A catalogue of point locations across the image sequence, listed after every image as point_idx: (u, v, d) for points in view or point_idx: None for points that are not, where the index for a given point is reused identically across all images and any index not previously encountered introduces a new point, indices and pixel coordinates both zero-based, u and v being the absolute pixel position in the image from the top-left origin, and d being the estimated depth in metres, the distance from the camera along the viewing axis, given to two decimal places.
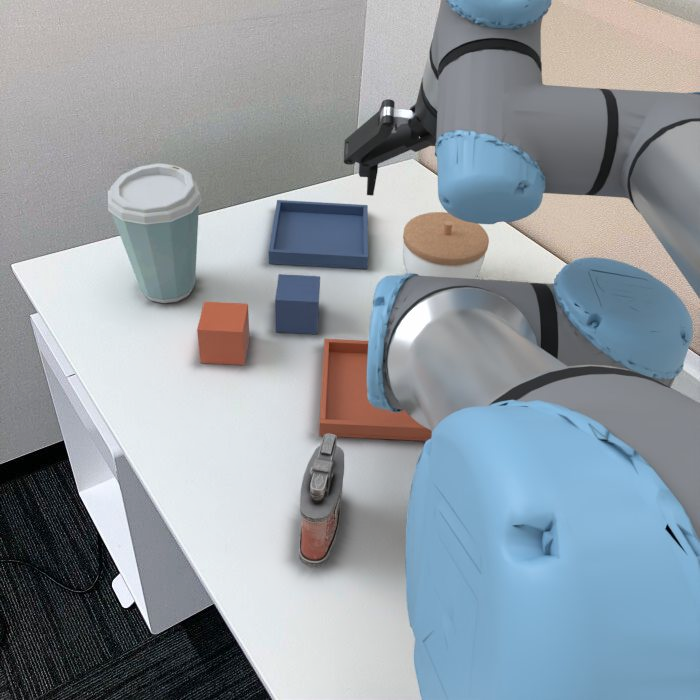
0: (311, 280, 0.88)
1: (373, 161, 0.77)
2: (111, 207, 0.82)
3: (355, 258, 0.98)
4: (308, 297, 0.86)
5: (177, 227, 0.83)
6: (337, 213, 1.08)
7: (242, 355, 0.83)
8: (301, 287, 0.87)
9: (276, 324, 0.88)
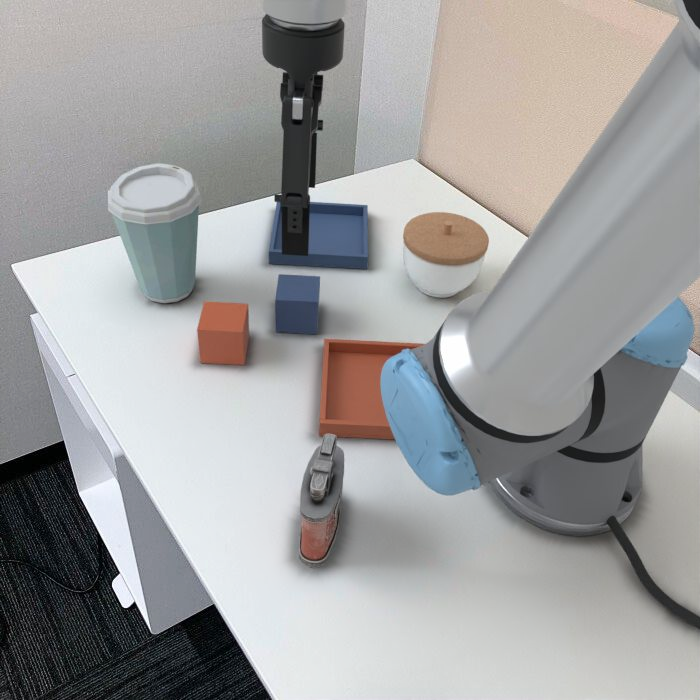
0: (311, 280, 0.88)
1: (308, 182, 0.70)
2: (111, 207, 0.82)
3: (355, 258, 0.98)
4: (308, 297, 0.86)
5: (177, 227, 0.83)
6: (337, 213, 1.08)
7: (242, 355, 0.83)
8: (301, 287, 0.87)
9: (276, 324, 0.88)
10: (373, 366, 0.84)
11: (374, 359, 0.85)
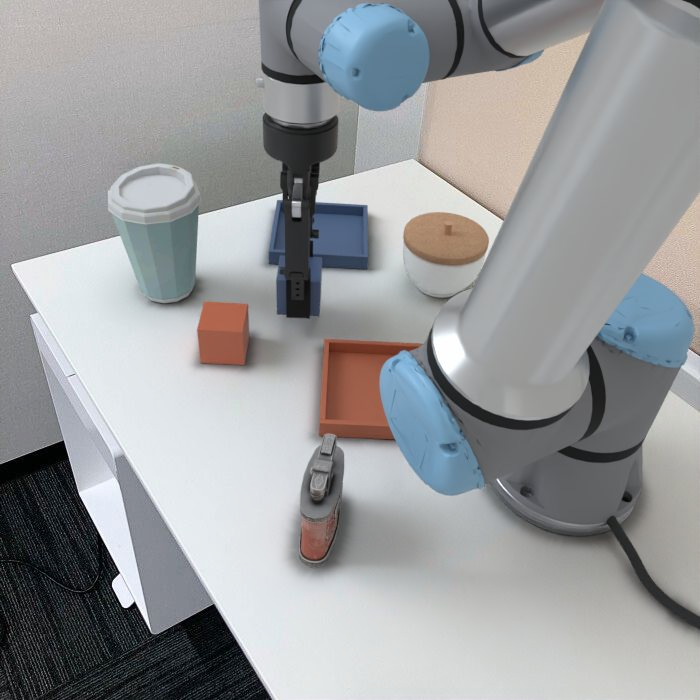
0: (313, 261, 0.86)
1: None
2: (111, 207, 0.82)
3: (355, 258, 0.98)
4: None
5: (177, 227, 0.83)
6: (337, 213, 1.08)
7: (242, 355, 0.83)
8: None
9: (277, 306, 0.85)
10: (373, 366, 0.84)
11: (374, 359, 0.85)
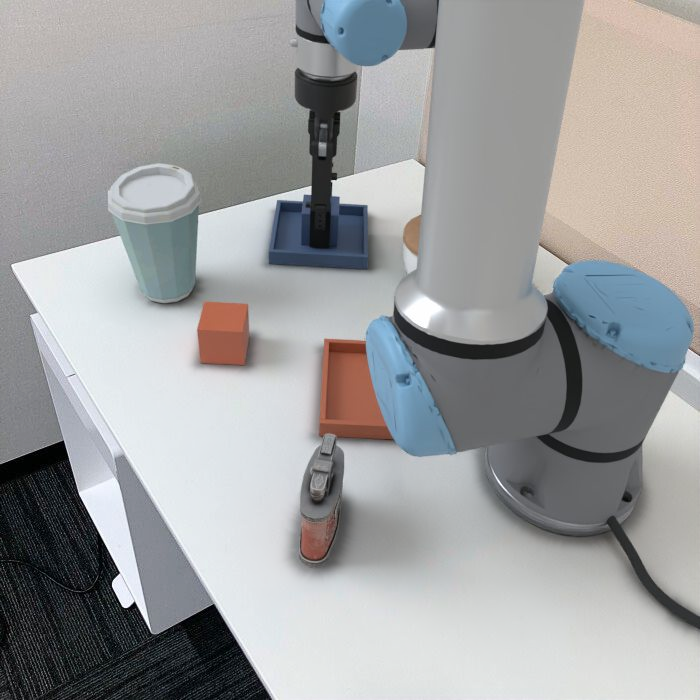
0: (332, 199, 1.01)
1: None
2: (111, 207, 0.82)
3: (355, 258, 0.98)
4: None
5: (177, 227, 0.83)
6: None
7: (242, 355, 0.83)
8: None
9: (301, 237, 1.01)
10: None
11: None
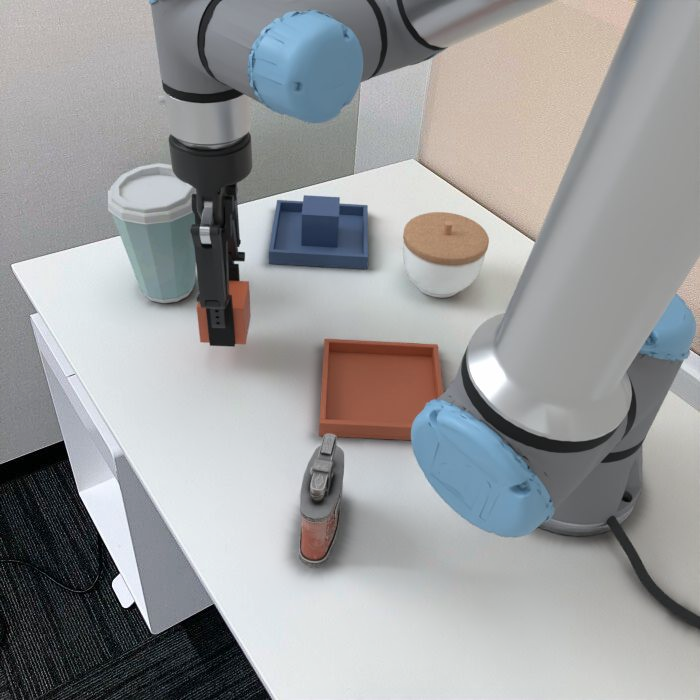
0: (332, 200, 1.01)
1: (227, 285, 0.75)
2: (111, 207, 0.82)
3: (355, 258, 0.98)
4: (330, 212, 0.99)
5: (177, 227, 0.83)
6: None
7: (243, 334, 0.80)
8: (324, 205, 1.00)
9: (302, 238, 1.01)
10: (373, 366, 0.84)
11: (374, 359, 0.85)
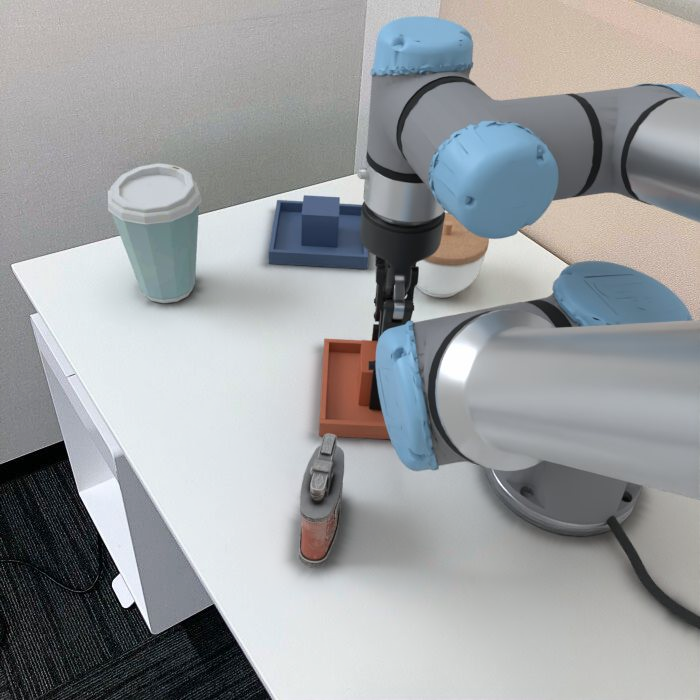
0: (332, 200, 1.01)
1: None
2: (111, 207, 0.82)
3: (355, 258, 0.98)
4: (330, 212, 0.99)
5: (177, 227, 0.83)
6: None
7: None
8: (324, 205, 1.00)
9: (302, 238, 1.01)
10: None
11: None
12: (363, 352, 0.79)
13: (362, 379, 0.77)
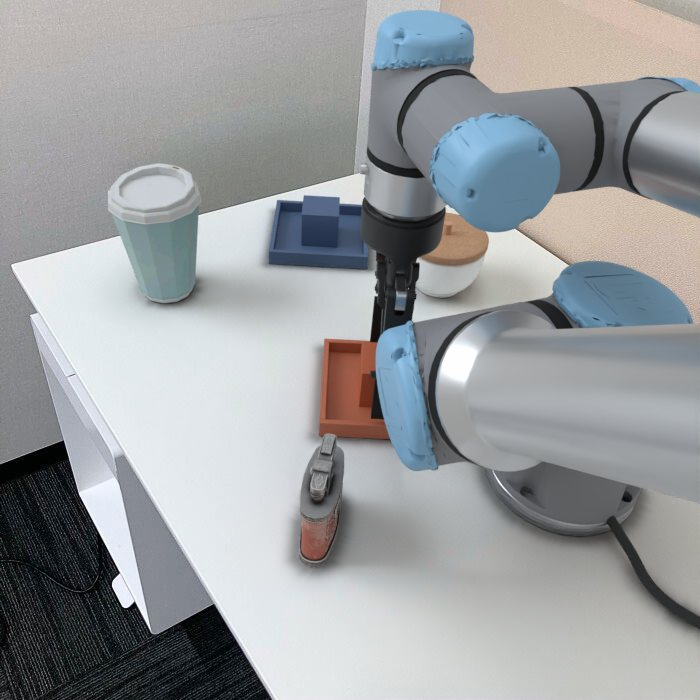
0: (332, 200, 1.01)
1: None
2: (111, 207, 0.82)
3: (355, 258, 0.98)
4: (330, 212, 0.99)
5: (177, 227, 0.83)
6: None
7: None
8: (324, 205, 1.00)
9: (302, 238, 1.01)
10: None
11: None
12: (363, 354, 0.78)
13: (362, 381, 0.77)
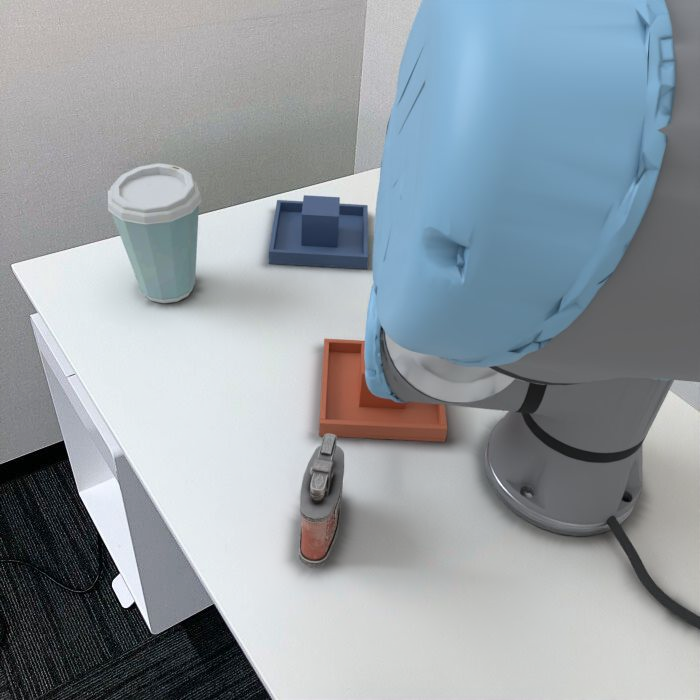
0: (332, 200, 1.01)
1: None
2: (111, 207, 0.82)
3: (355, 258, 0.98)
4: (330, 212, 0.99)
5: (177, 227, 0.83)
6: None
7: None
8: (324, 205, 1.00)
9: (302, 238, 1.01)
10: None
11: None
12: (363, 354, 0.78)
13: (362, 381, 0.77)
